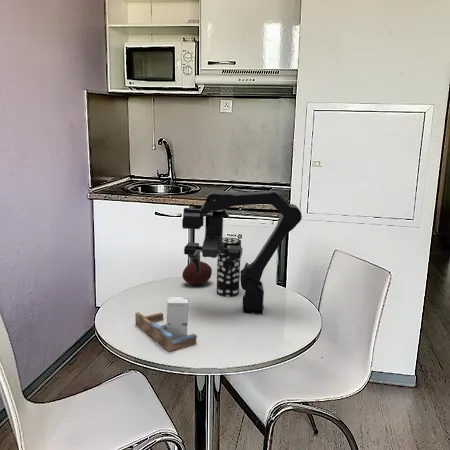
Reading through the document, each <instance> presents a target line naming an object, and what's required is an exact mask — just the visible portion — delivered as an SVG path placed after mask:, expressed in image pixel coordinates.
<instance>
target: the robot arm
mask: <svg viewBox="0 0 450 450" xmlns="http://www.w3.org/2000/svg"><path fill="white" fill-rule="evenodd" d="M250 205H252V206H253V205H254V206H255V205H271V206H272V207H273V208H275V210H277V211H278V212H279V213H280V214H279V217H278V219H277V222H276V226H275V228H274V229H273V230H272V232H271V234H270V235H269V237H268V238H267V240H266V242H265V243H264V245H263V246H262V248H261V250H260V251H259V253H258V254H257V256H256V258H255V259H254V260H253V261H252V262H251V263H250V264H249V262H245V265H244V267H243V268H242V269H240V280H239V283H240V287H241V289H243V291H244V294H243V296H242V307H241V308H242V310H243V311H242V312H243V313H247V314H254V315H255V314H257V315H259V314H260V315H263V312H264V308H265V306H264V299H265V297H264V296H265V295H264V294H265V290H264V285H263V282H262V281H261V278H262V276H263V273H264V270H265V268H266V266H267V265H268V263H269V261H271V258H272V257H273V256H274V254H275V252H276V251H277V250H278V248H279V246H280V245H281V244H282V242H283V240H284V239H285V237H286V236H287V235H288V234H289V233H290V232H291V231H292V230H294V229H295V228H296V227H297V225H298V224H300V222H301V221H302V218H303V216H302V211H301V210H300V208H299V207H298V206H297V205H296V204H294V203H289V202H288V201H287V200H285V198H283V197H282V196H281V195H280V194H279V193H278V192H277V191H276V190H274V189H273V190H267V191H266V190H265V191H264V190H263V191H262V190H261V191H246V192H229V191H225V190H224V191H223V190H217V189H216V190H215V189H214V190H211V191H210V192H208V194H207V195H206V198H205V202H204V203H203V204H202V205H201V208H190V207H184V208H183V213H182V215H183V217H182V220H181V221H182V224H181V225H182V226H181V227H182V229H184V230H186V229H187V230H200V229H201V228H202V227H204V226H205V229H204V230H205V232H204V239H203V242H202V245H200V243H199V242H192V241H191V242H187V244H186V245H185V246H184V247H183V254H184V255H187V256H188V258H191V260H192V262H194V263H195V266H196V269H197V271H198V274H200V269H201V268H200V261H201V257H203V258H212V259H215V258H218V254H228V256H229V257H228V259H227V267H226V277H227V275H228V272H229V269H230V267H231V264H232V262H233V261H236V260H237V259H239V258H240V259H241V258H242V256H243V251H244V250H243V249H244V248H243V247H242V245H241V246H230V248H224V243H222V239H223V238H224V237H223V236H224V235H223V231H224V230H223V229H224V218H229V217H230V213H228V212H227V210H226V209H229V208H232V207H235V206H237V207H239V206H250ZM204 220H205V221H204ZM204 223H205V225H204ZM201 254H202V256H201Z"/></svg>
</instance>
